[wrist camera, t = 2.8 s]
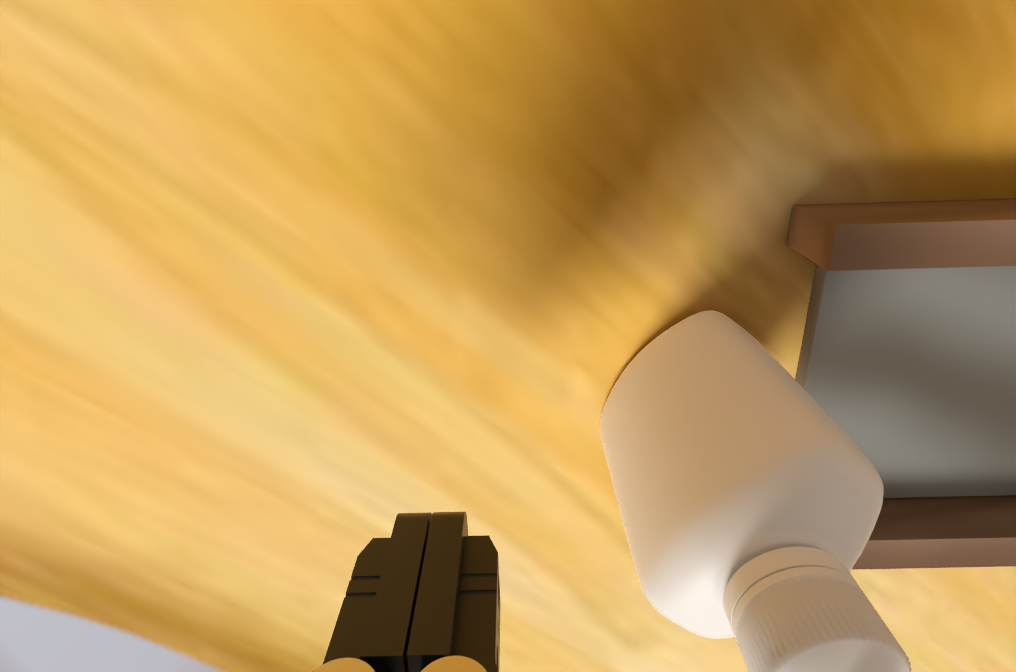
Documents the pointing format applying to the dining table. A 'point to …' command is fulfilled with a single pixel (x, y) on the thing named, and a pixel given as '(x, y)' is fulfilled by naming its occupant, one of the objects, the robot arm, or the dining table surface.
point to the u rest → (920, 368)
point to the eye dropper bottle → (745, 502)
